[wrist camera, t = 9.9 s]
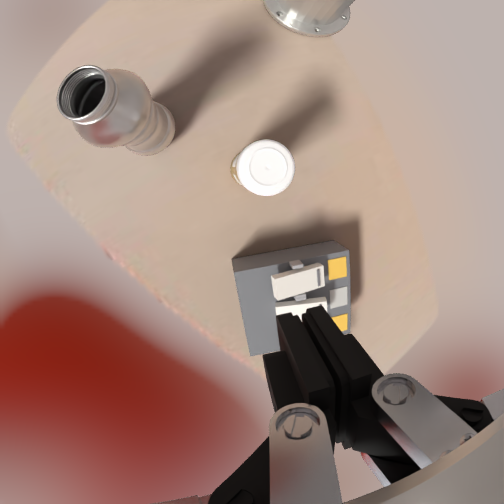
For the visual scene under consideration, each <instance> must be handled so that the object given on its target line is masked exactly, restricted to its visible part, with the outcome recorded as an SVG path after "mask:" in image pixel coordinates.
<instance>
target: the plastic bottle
mask: <svg viewBox="0 0 504 504" xmlns="http://www.w3.org/2000/svg"><path fill="white" fill-rule="evenodd" d="M57 106H58V109H59V111H60V113H61V114H62V115H63V116H64V117H66V118H67V119H69V120H72V121H73V125H74V127H75V129H76V131H77V132H78V133H79V135H80V136H81V137H82V138H83V139H84V140H85V141H86V142H88V143H89V144H91V145H93V146H97V147H101V148H113V147H118V146H125V147H126V148H128V149H129V150H130V151H131V152H133V153H135V154H138V155H142V156H149V155H154V154H157V153H159V152H161V151H162V150H164V149H165V148H166V147H168V145H169V144H170V143H171V141H172V139H173V137H174V134H175V121H174V117H173V115H172V113H171V112H170V111H169V110H168V108H166V107H165V106H164V105H162V104H159V103H157V102H154V101H153V100H152V97H151V94H150V91H149V89H148V88H147V86H146V84H145V82H144V81H143V80H142V79H141V78H140V77H139V76H138V75H136V74H135V73H133V72H130V71H127V70H121V69H108V70H102V69H101V68H99V67H97V66H93V65H86V66H81V67H79V68H77V69H75V70H73V71H72V72H71V73H69V74H68V75H67V76H66V77H65V79H64V80H63V81H62V83H61V85H60V87H59V90H58V93H57Z"/></svg>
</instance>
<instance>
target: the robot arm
mask: <svg viewBox="0 0 504 504" xmlns="http://www.w3.org/2000/svg"><path fill="white" fill-rule="evenodd" d="M263 1H264V5H265V7H266V9H267V11H268V13H269V14H270V15H271V16H272V18H274V19H275V20H276V21H277V22H278V23H279V24H281V25H282V26H284V27H285V28H287V29H289V30H291V31H293V32H296V33H299V34H302V35H306V36H312V37H326V36H330V35H333V34H336V33H338V32H339V31H341V30H342V29H343V28H344V27H345V26H346V24H347V23H348V21H349V18H350V8H349V6H350V5H351V4H352V3H353V1H355V0H263ZM276 323H277V331H278V338H279V346H280V351H279V352H274V353H269V354H264V355H263V361H264V367H265V372H266V378H267V382H268V387H269V391H270V395H271V399H272V403H273V406H274V411H275V413H274V415H273V417H272V418H271V420H270V424H269V437H268V438H267V439H266V440H265V441H264V442H263V443H262V444H261V445H260V446H259V447H258V448H257V450H256V451H255V452H254V453H253V454H252V455H251V456H250V457H249V458H248V459H247V460H246V461H245V462H244V463H243V464H242V465H241V466H240V467H239V468H238V469H237V470H236V471H235V472H234V473H233V474H232V475H231V476H230V477H229V478H227V479H226V480H225V481H224V482H223V483H222V484H221V485H220V486H219V487H218V488H216V490H215V491H214V492H213V493H212V494H210V495H206V496H202V497H198V495H195V496H191V497H186V498H181V499H176V500H171V501H165V502H160V503H153V504H504V389H502V390H500V391H497V392H495V393H493V394H491V395H488V396H486V397H484V398H482V399H481V401H480V402H479V401H475V400H468V399H460V398H451V397H445V396H438V395H433V394H432V393H430V392H429V391H428V390H427V389H426V388H425V387H424V386H422V385H421V384H420V383H419V382H418V381H417V380H415V379H414V378H412V377H411V376H408V375H405V374H399V373H394V374H388V375H385V376H384V375H383V373H382V372H381V371H380V369H379V368H378V367H377V366H376V364H375V363H374V362H373V360H372V359H371V358H370V356H369V355H368V354H367V353H366V351H365V350H364V349H363V347H362V346H361V345H360V343H359V342H358V341H357V340H356V338H355V337H354V336H353V335H352V334H347V335H344V334H343V333H342V331H341V330H340V329H339V327H338V326H337V325H336V323H335V322H334V321H333V319H332V318H331V317H330V315H329V314H328V313H327V311H326V310H325V309H324V307H323V306H322V305H320V306H316V307H312V308H307V309H306V313H303V314H302V321H301V319H300V318H299V316H298V315H294V316H293V314H292V313H291V312H289V313H285V314H280V315H276ZM335 442H336V443H340V442H342V445H343V447H344V449H348V448H351V447H352V449H353V450H355V451H359V452H360V453H361V456H362V458H363V460H364V461H365V462H366V464H367V465H368V466H369V468H370V469H371V470H372V472H373V473H374V474H375V475H376V477H377V478H378V479H379V481H380V482H381V484H382V485H383V486H384V488H381V489H379V490H377V491H374V492H372V493H369V494H366V495H364V496H361V497H358V498H356V499H353V500H350V501H348V502H344V503H342V498H341V492H340V486H339V481H338V476H337V470H336V465H335V460H334V446H335Z"/></svg>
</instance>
